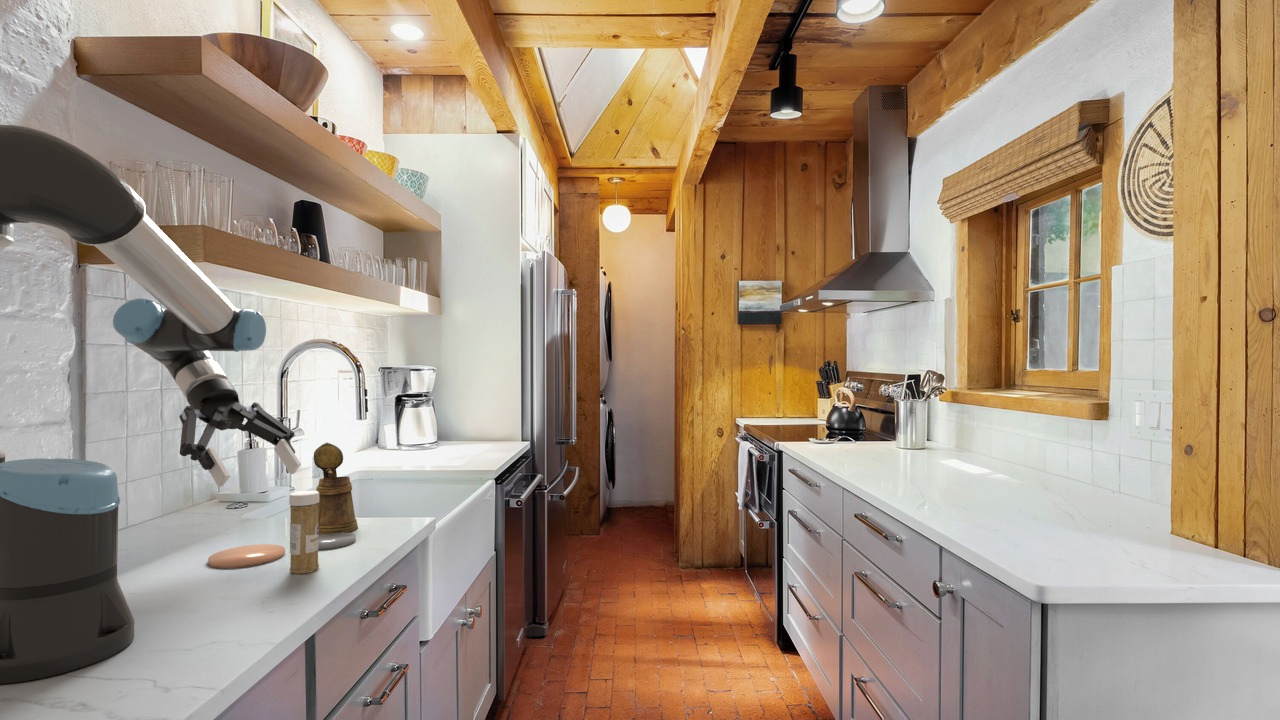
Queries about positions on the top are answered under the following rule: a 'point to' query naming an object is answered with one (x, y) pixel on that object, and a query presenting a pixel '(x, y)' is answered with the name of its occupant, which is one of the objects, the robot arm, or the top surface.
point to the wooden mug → (333, 493)
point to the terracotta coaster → (246, 556)
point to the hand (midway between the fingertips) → (262, 475)
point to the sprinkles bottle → (304, 531)
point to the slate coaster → (335, 540)
